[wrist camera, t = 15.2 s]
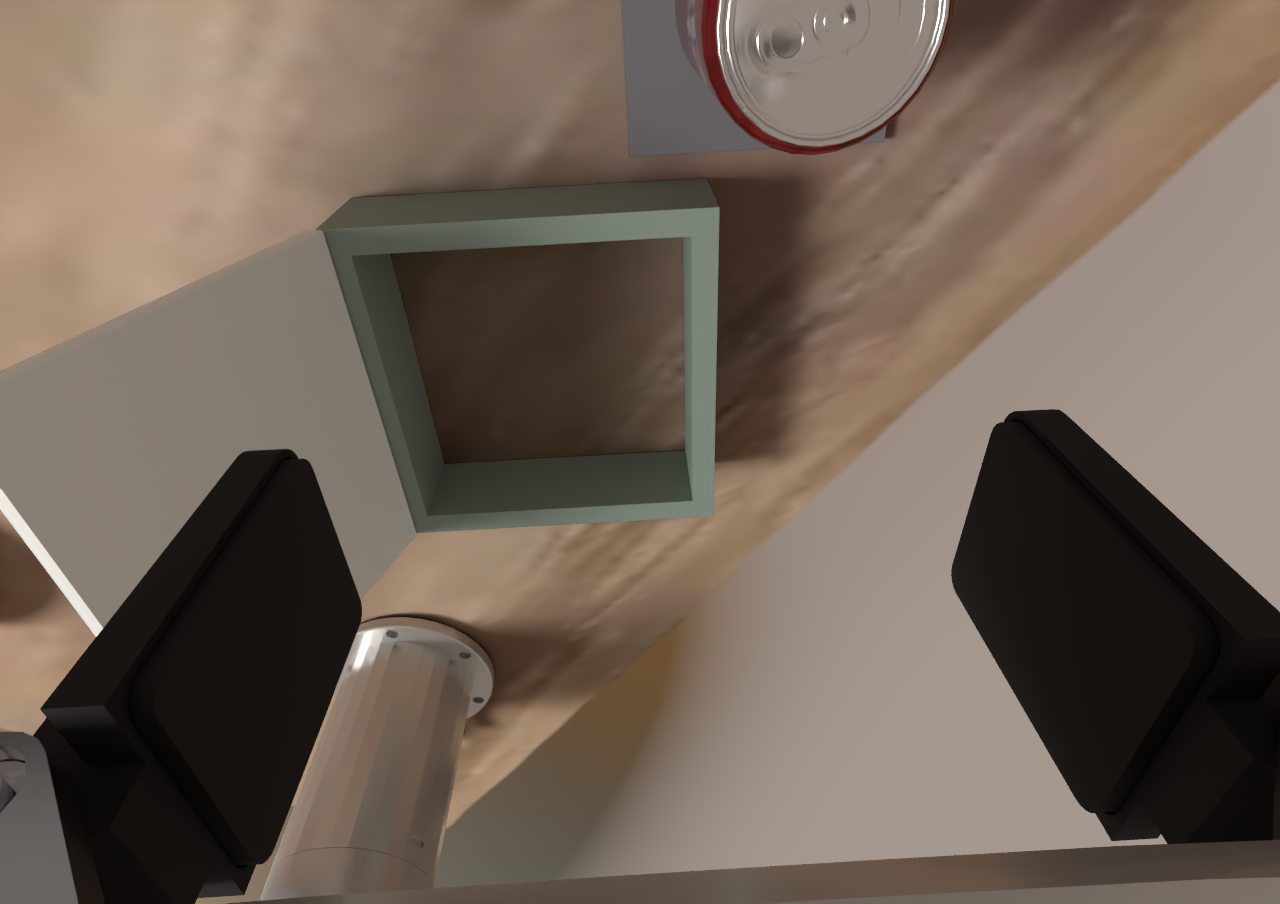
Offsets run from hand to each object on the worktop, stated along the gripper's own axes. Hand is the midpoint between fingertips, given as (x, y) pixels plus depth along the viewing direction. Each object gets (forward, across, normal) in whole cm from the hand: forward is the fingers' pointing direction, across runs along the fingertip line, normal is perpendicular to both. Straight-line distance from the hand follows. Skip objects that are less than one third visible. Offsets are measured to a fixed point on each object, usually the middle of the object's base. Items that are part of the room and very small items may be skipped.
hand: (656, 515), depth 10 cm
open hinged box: (+28, +7, +11) cm, 31 cm away
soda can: (+27, -6, -6) cm, 28 cm away
